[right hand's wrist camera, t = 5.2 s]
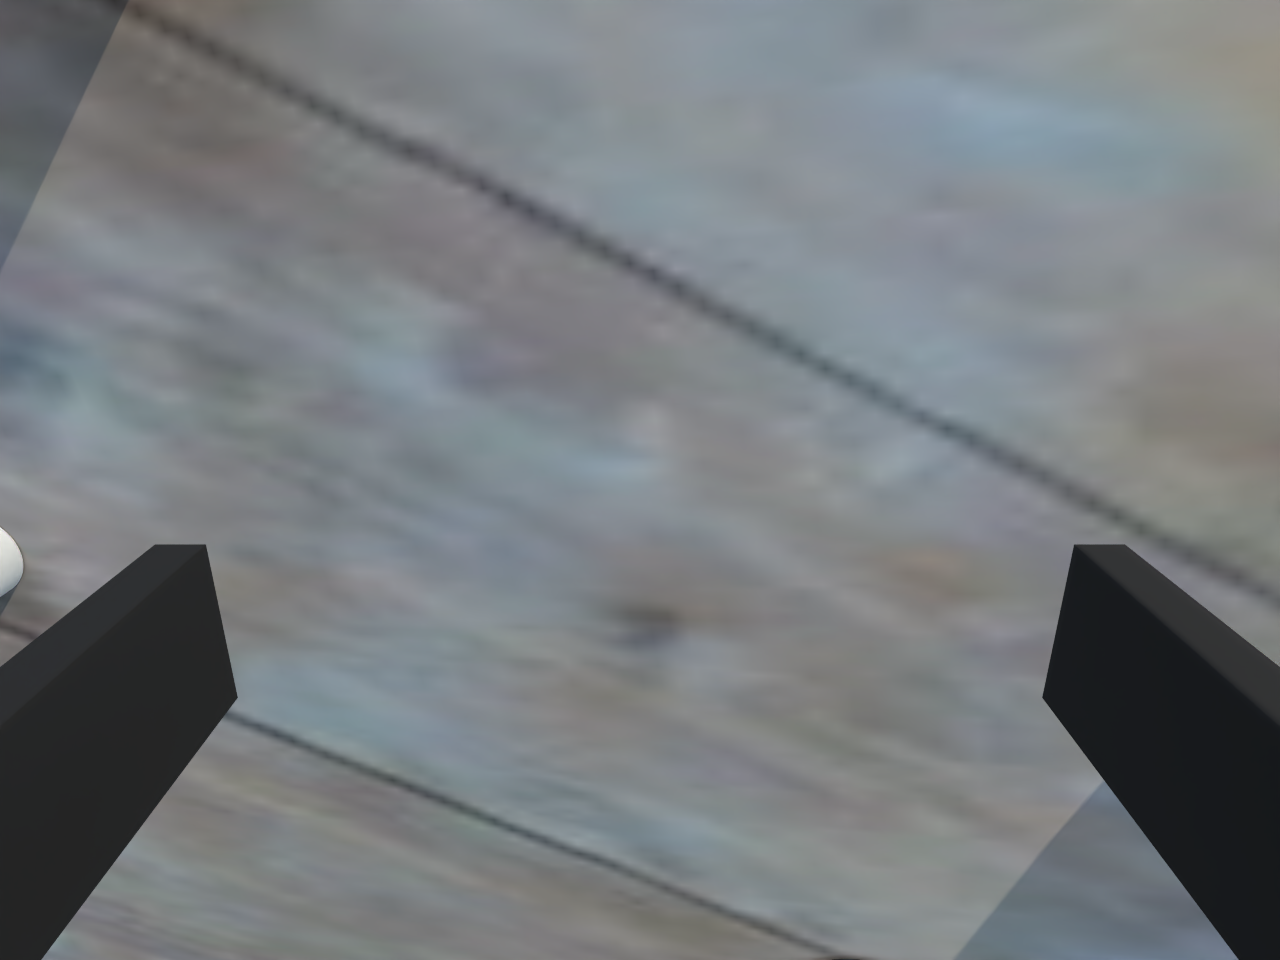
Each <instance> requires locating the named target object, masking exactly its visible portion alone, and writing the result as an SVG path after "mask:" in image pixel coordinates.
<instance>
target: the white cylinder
mask: <svg viewBox="0 0 1280 960" xmlns="http://www.w3.org/2000/svg"><path fill="white" fill-rule="evenodd" d="M22 573H23V559H22V555H21V552H20V550H19V548H18V546H17V544H16V543H15V541H14V540H13V539H12V538H11V536H10V535H9V534H8V533H7V532H5V531H4V530H3V529H2V528H1V527H0V597H1V596H2V595H4V594H5V593H7V592H8V591H10V590H11V589H13V588H14V587H15V586H16V585H17V584H18V582H19V581H20V579H21V577H22Z"/></svg>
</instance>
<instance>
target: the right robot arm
mask: <svg viewBox="0 0 1280 960" xmlns="http://www.w3.org/2000/svg"><path fill="white" fill-rule="evenodd" d="M237 698H238V697H237V692H236V687H235V683H234V678H233V673H232V668H231V663H230V659H229V654H228V649H227V644H226V639H225V635H224V630H223V625H222V620H221V615H220V611H219V606H218V601H217V596H216V591H215V587H214V582H213V577H212V572H211V567H210V563H209V558H208V553H207V548H206V545H154V546H153V547H151V548H150V549H149V550H148V551H146V552H145V553H144V554H143V555H141V556H140V557H139V558H138V559H136V560H135V561H134V562H132V563H131V564H130V565H129V566H127V567H126V568H125V569H124V570H122V571H121V572H120V573H119V574H117V575H116V576H115V577H114V578H112V579H111V580H110V581H108V582H107V583H106V584H105V585H103V586H102V587H101V588H100V589H98V590H97V591H96V592H95V593H93V594H92V595H91V596H90V597H88V598H87V599H86V600H84V601H83V602H82V603H81V604H79V605H78V606H77V607H76V608H74V609H73V610H72V611H71V612H69V613H68V614H67V615H66V616H64V617H63V618H62V619H60V620H59V621H58V622H57V623H55V624H54V625H53V626H52V627H50V628H49V629H48V630H47V631H45V632H44V633H43V634H42V635H40V636H39V637H38V638H36V639H35V640H34V641H33V642H31V643H30V644H29V645H28V646H26V647H25V648H24V649H23V650H21V651H20V652H19V653H18V654H16V655H15V656H14V657H12V658H11V659H10V660H9V661H7V662H6V663H5V664H4V665H2V666H1V667H0V960H41V959H42V958H43V957H44V955H45V954H46V953H47V951H48V950H49V949H50V947H51V946H52V945H53V943H54V942H55V941H56V939H57V938H58V937H59V935H60V934H61V933H62V931H63V930H64V929H65V927H66V926H67V925H68V923H69V922H70V921H71V919H72V918H73V917H74V915H75V914H76V913H77V911H78V910H79V909H80V907H81V906H82V905H83V903H84V902H85V901H86V899H87V898H88V897H89V895H90V894H91V893H92V891H93V890H94V889H95V887H96V886H97V885H98V883H99V882H100V881H101V879H102V878H103V877H104V875H105V874H106V873H107V871H108V870H109V869H110V867H111V866H112V865H113V863H114V862H115V861H116V859H117V858H118V857H119V855H120V854H121V853H122V851H123V850H124V849H125V847H126V846H127V845H128V843H129V842H130V841H131V839H132V838H133V837H134V835H135V834H136V833H137V831H138V830H139V829H140V827H141V826H142V825H143V823H144V822H145V821H146V819H147V818H148V817H149V815H150V814H151V813H152V811H153V810H154V809H155V807H156V806H157V804H158V803H159V802H160V800H161V799H162V798H163V796H164V795H165V794H166V792H167V791H168V790H169V788H170V787H171V786H172V784H173V783H174V782H175V780H176V779H177V778H178V776H179V775H180V774H181V772H182V771H183V770H184V768H185V767H186V766H187V764H188V763H189V762H190V760H191V759H192V758H193V756H194V755H195V754H196V752H197V751H198V750H199V748H200V747H201V746H202V744H203V743H204V742H205V740H206V739H207V738H208V736H209V735H210V734H211V732H212V731H213V730H214V728H215V727H216V726H217V724H218V723H219V722H220V720H221V719H222V718H223V716H224V715H225V714H226V712H227V711H228V710H229V708H230V707H231V706H232V704H233V703H234V702H235V700H236V699H237ZM1042 698H1043V699H1044V700H1045V702H1046V703H1047V704H1048V706H1049V707H1050V708H1051V710H1052V711H1053V712H1054V714H1055V715H1056V716H1057V718H1058V719H1059V720H1060V722H1061V723H1062V724H1063V726H1064V727H1065V728H1066V730H1067V731H1068V732H1069V734H1070V735H1071V736H1072V738H1073V739H1074V740H1075V742H1076V743H1077V744H1078V746H1079V747H1080V748H1081V750H1082V751H1083V752H1084V754H1085V755H1086V756H1087V758H1088V759H1089V760H1090V762H1091V763H1092V764H1093V766H1094V767H1095V768H1096V770H1097V771H1098V772H1099V774H1100V775H1101V776H1102V778H1103V779H1104V780H1105V782H1106V783H1107V784H1108V786H1109V787H1110V788H1111V790H1112V791H1113V792H1114V794H1115V795H1116V796H1117V798H1118V799H1119V800H1120V802H1121V803H1122V804H1123V806H1124V807H1125V809H1126V810H1127V811H1128V813H1129V814H1130V815H1131V817H1132V818H1133V819H1134V821H1135V822H1136V823H1137V825H1138V826H1139V827H1140V829H1141V830H1142V831H1143V833H1144V834H1145V835H1146V837H1147V838H1148V839H1149V841H1150V842H1151V843H1152V845H1153V846H1154V847H1155V849H1156V850H1157V851H1158V853H1159V854H1160V855H1161V857H1162V858H1163V859H1164V861H1165V862H1166V863H1167V865H1168V866H1169V867H1170V869H1171V870H1172V871H1173V873H1174V874H1175V875H1176V877H1177V878H1178V879H1179V881H1180V882H1181V883H1182V885H1183V886H1184V887H1185V889H1186V890H1187V891H1188V893H1189V894H1190V895H1191V897H1192V898H1193V899H1194V901H1195V902H1196V903H1197V905H1198V906H1199V907H1200V909H1201V910H1202V911H1203V913H1204V914H1205V915H1206V917H1207V918H1208V919H1209V921H1210V922H1211V923H1212V925H1213V926H1214V927H1215V929H1216V930H1217V931H1218V933H1219V934H1220V935H1221V937H1222V938H1223V939H1224V941H1225V942H1226V943H1227V945H1228V946H1229V947H1230V949H1231V950H1232V951H1233V953H1234V954H1235V955H1236V957H1237V958H1238V959H1239V960H1280V667H1279V666H1278V665H1276V664H1275V663H1274V662H1273V661H1271V660H1270V659H1269V658H1268V657H1266V656H1265V655H1264V654H1262V653H1261V652H1260V651H1259V650H1257V649H1256V648H1255V647H1254V646H1252V645H1251V644H1250V643H1249V642H1247V641H1246V640H1245V639H1244V638H1242V637H1241V636H1240V635H1238V634H1237V633H1236V632H1235V631H1233V630H1232V629H1231V628H1230V627H1228V626H1227V625H1226V624H1225V623H1223V622H1222V621H1221V620H1220V619H1218V618H1217V617H1216V616H1214V615H1213V614H1212V613H1211V612H1209V611H1208V610H1207V609H1206V608H1204V607H1203V606H1202V605H1201V604H1199V603H1198V602H1197V601H1196V600H1194V599H1193V598H1192V597H1190V596H1189V595H1188V594H1187V593H1185V592H1184V591H1183V590H1182V589H1180V588H1179V587H1178V586H1177V585H1175V584H1174V583H1173V582H1172V581H1170V580H1169V579H1168V578H1166V577H1165V576H1164V575H1163V574H1161V573H1160V572H1159V571H1158V570H1156V569H1155V568H1154V567H1153V566H1151V565H1150V564H1149V563H1148V562H1146V561H1145V560H1144V559H1142V558H1141V557H1140V556H1139V555H1137V554H1136V553H1135V552H1134V551H1132V550H1131V549H1130V548H1129V547H1127V546H1126V545H1074V548H1073V553H1072V558H1071V563H1070V567H1069V572H1068V577H1067V582H1066V587H1065V591H1064V596H1063V601H1062V606H1061V611H1060V615H1059V620H1058V625H1057V630H1056V635H1055V639H1054V644H1053V649H1052V654H1051V659H1050V663H1049V668H1048V673H1047V678H1046V683H1045V687H1044V692H1043V697H1042ZM834 960H858V959H834Z"/></svg>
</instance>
